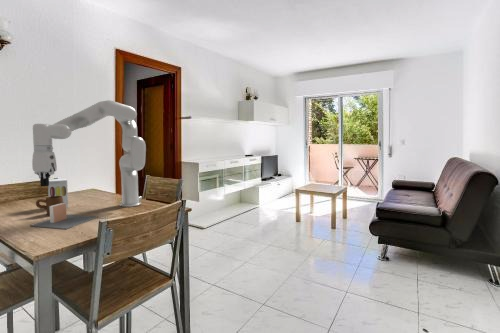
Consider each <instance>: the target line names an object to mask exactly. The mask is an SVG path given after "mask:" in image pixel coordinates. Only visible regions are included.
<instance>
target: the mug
mask: <svg viewBox="0 0 500 333" xmlns="http://www.w3.org/2000/svg"><path fill="white" fill-rule="evenodd" d="M41 203H45V204H41ZM60 203H63V197H62V196H52V197H49V196H47V197H45V199H44V198H40V199H37V200H36V201H35V205H36V207H37V208H38V209H43V210H46V215H47V216H49V217H50V207H49V206H53V205H57V204H60Z"/></svg>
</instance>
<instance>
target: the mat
mask: <svg viewBox="0 0 500 333" xmlns="http://www.w3.org/2000/svg"><path fill="white" fill-rule="evenodd" d="M66 217H67V219H65V220H62V221H59V222H55V223H51V222H50V219H48V220H43V221H41V222H37V223H33V224H31V225H30V226H29V227H31V228H32V227H34V228H45V229H58V230H59V229H60V230H69V229H71V228H73V227H76V226H79V225H82V224H84V223H87V222H89V221H93V220H96V219H99V216H89V215H77V214H66Z"/></svg>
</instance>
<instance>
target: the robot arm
mask: <svg viewBox="0 0 500 333" xmlns="http://www.w3.org/2000/svg"><path fill="white" fill-rule="evenodd" d="M137 115H138V113H137V110H136V109H135V108H134V107H132V106H130V105H127V104H123V103H120V102H118V101H114V100H109V99H107V100H100V101H98V102H96V103H94V104H92V105H90V106H88V107H86V108H84V109H83V110H80V111H78V112H75V113H74V114H72V115H70V116H67V117H65V118H62V119H61V120H59V121H57V122H55V123H53V124H48V123H34V124H33V125H32V139H33V140H32V142H33V153H32V161H31V163H32V171H33V173H34V175H37V176H38V178H39V179H40V181H39V182H40V183H39V184H40V187H44V188H45V187H48V186H49V179H51V178H50V177H51V176H53V175H55V172H57V169H58V168H57V157H56V155H55V152H54V151H53V150H54V147H53V140H66V139H68V138H70V137H71V135H72V132H73V131H76V130H78V129H83V128H87V127H89V126H92V125H94V124H95V123H96V122H98V121H101V120H102V119H104V118H106V117H113V118H114V119H115V121H117V122H118V123H119V124H120V126H121V130H122V136H121V137H122V138H121V141H122V143H121V146H122V147H121V148H122V149H123V151H124V152H127V153H129V154H123V155H122V156H121V157H120V159H119V161H118V164H119V170H120V180H121V184H120V185H121V202H119V207H122V208H124V207H125V208H129V207H137V206H140V205H142V201H141V200H142V199H143V196H141V195H140V196H139V176H138V175H139V174H138V171H141V170H143V169H144V168H145V165H146V156H147V155H146V152H147V145H146V141H145V140H144V139H143V138H142V137H140V136H138V126H137V123H136V122H135V119H137Z"/></svg>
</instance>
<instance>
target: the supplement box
mask: <svg viewBox="0 0 500 333" xmlns="http://www.w3.org/2000/svg"><path fill="white" fill-rule="evenodd" d="M47 187H48V188H47V190H48V192H47V194H48V196H47V197H52V196H62V197H63V203H66V209H68V208H69V195H68V194H69V192H68V179H67V178H53V179H51V178H49V186H47Z"/></svg>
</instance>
